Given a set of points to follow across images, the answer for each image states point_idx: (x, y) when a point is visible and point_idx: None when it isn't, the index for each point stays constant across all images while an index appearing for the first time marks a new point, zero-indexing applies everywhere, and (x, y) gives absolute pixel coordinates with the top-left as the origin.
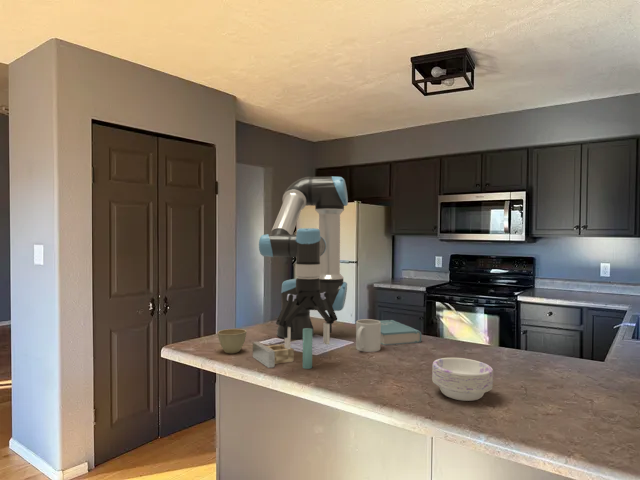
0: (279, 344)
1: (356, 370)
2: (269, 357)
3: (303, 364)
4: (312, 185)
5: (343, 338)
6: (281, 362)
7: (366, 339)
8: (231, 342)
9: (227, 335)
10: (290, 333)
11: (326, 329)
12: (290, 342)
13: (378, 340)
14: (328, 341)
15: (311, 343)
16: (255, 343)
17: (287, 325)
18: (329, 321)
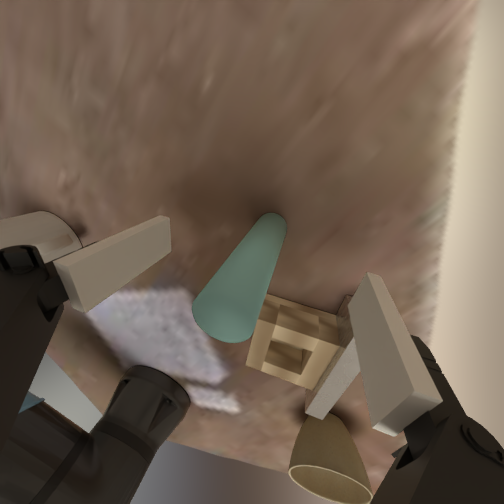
0: (258, 369)
1: (155, 84)
2: None
3: (285, 234)
4: None
5: (87, 322)
6: (302, 305)
7: (28, 237)
8: (350, 451)
9: (366, 485)
10: (395, 339)
11: (111, 258)
12: (374, 293)
13: (3, 219)
14: (155, 220)
15: (241, 248)
16: (326, 411)
17: (467, 435)
18: (32, 273)
